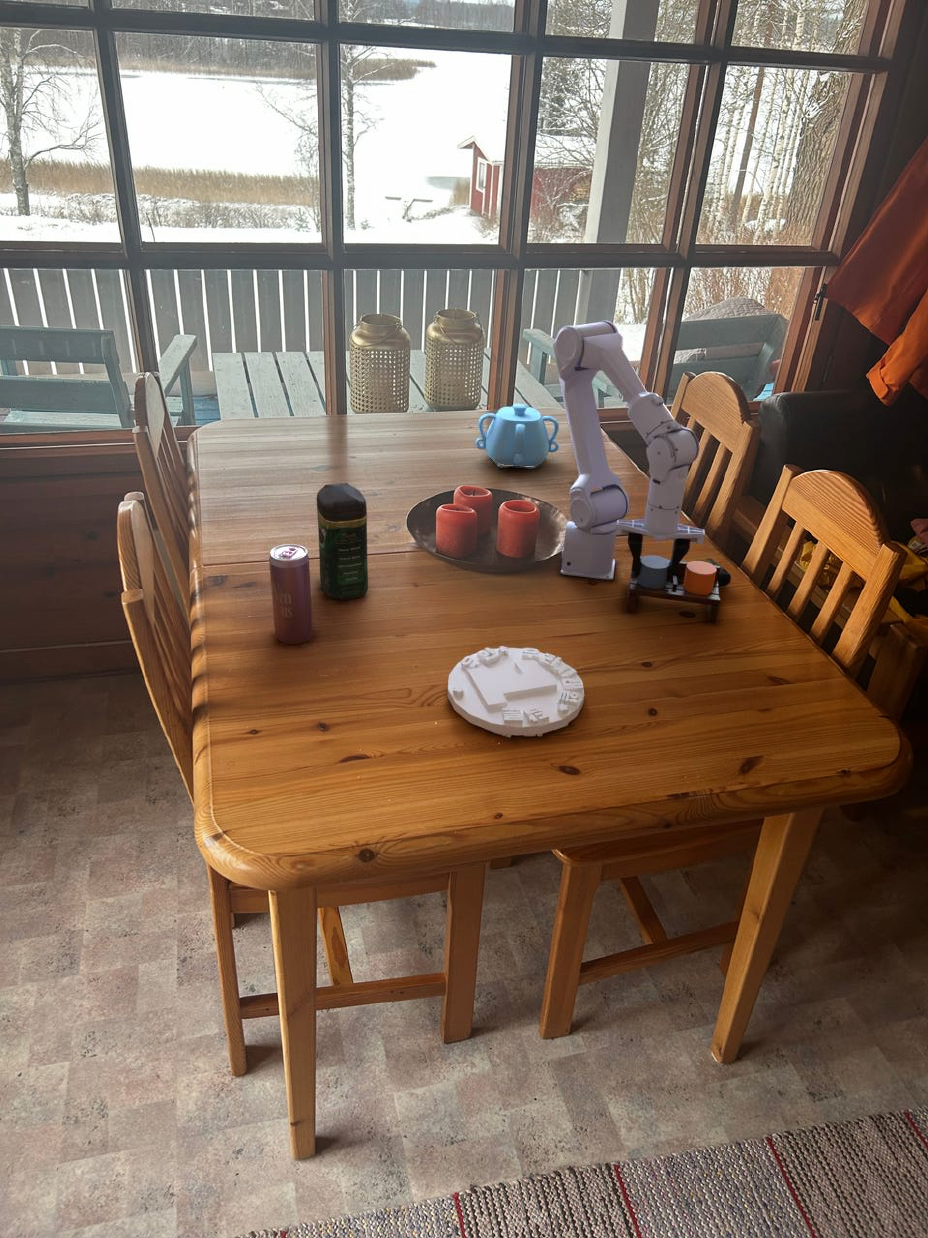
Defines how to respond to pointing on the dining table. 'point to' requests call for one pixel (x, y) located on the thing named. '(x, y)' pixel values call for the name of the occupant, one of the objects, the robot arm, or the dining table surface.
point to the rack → (675, 591)
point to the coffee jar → (342, 541)
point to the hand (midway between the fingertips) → (652, 575)
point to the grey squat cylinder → (653, 572)
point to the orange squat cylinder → (699, 577)
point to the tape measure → (723, 574)
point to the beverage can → (291, 593)
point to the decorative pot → (517, 436)
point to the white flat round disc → (515, 691)
